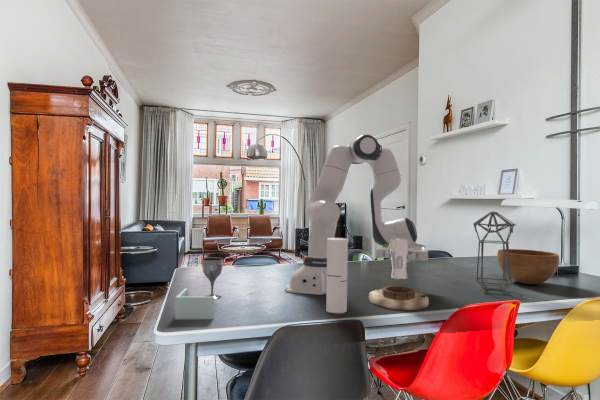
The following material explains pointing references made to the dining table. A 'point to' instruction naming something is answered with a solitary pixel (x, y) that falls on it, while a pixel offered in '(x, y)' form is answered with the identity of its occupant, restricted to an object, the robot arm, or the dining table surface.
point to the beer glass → (399, 257)
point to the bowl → (530, 265)
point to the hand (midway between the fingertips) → (398, 256)
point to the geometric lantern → (494, 242)
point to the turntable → (398, 298)
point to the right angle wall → (193, 306)
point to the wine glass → (212, 271)
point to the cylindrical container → (336, 275)
